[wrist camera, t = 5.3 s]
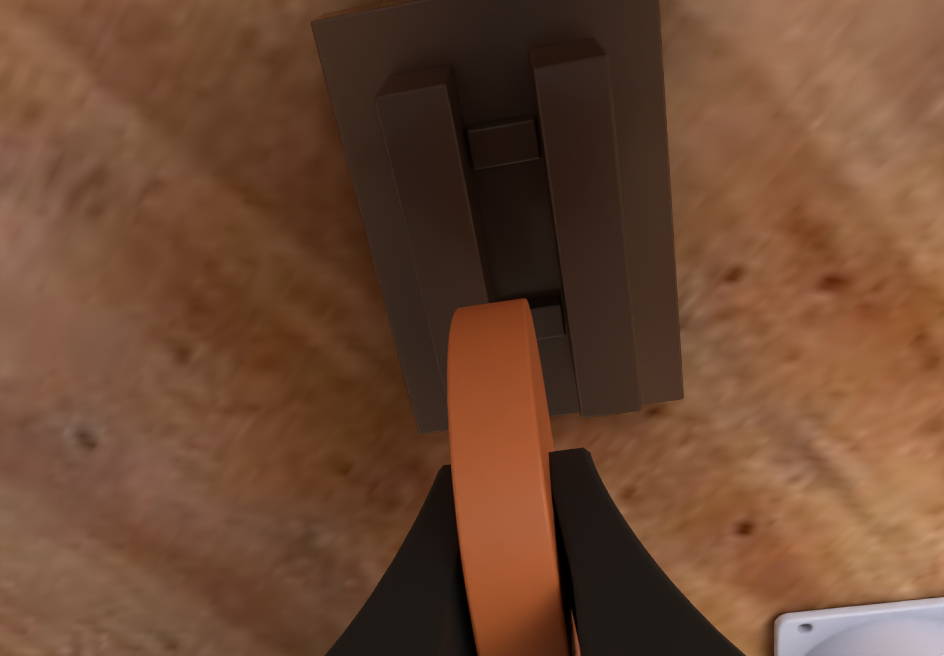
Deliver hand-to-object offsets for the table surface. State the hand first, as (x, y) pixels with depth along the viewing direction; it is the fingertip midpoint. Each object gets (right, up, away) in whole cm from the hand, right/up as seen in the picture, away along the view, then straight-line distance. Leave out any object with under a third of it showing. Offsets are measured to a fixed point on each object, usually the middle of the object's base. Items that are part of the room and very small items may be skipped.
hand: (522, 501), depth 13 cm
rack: (0, +6, +8) cm, 10 cm away
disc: (0, 0, 0) cm, 0 cm away
